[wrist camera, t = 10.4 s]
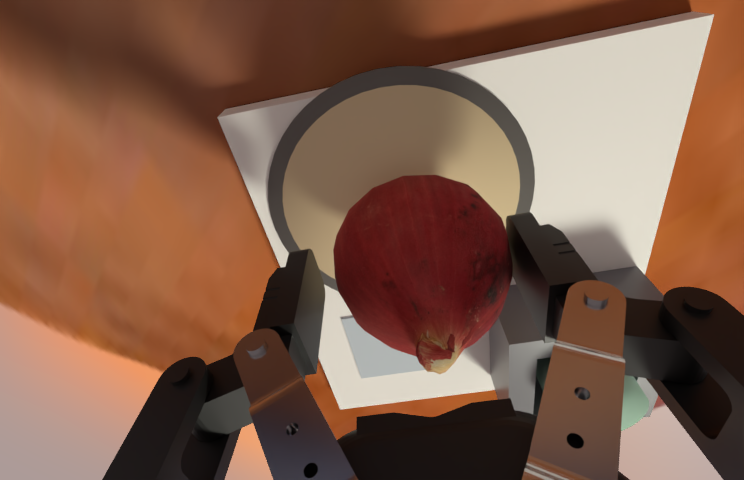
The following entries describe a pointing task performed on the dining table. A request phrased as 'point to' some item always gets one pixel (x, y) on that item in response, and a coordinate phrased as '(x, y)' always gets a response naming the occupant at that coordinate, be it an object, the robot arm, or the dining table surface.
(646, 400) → the button
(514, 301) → the button housing
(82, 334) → the dining table surface
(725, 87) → the dining table surface
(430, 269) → the onion
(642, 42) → the picture board
